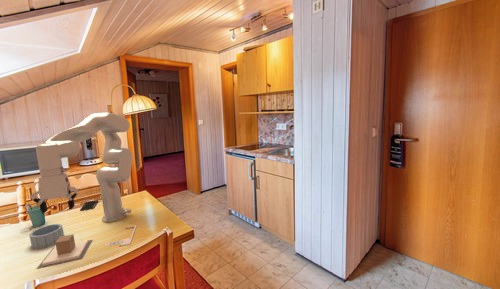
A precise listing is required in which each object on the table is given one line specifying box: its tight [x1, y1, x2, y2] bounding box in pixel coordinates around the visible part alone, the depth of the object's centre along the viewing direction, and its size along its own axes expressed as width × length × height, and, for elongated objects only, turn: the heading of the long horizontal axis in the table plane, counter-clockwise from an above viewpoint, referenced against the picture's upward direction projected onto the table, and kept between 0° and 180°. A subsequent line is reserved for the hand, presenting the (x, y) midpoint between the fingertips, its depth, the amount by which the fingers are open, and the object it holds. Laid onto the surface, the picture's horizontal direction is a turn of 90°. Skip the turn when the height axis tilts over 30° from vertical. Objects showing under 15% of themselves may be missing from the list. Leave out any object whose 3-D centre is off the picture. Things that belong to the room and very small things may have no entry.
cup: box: [22, 200, 47, 228], centre depth 130 cm, size 14×8×15 cm, turn 10°
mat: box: [36, 239, 94, 270], centre depth 103 cm, size 16×16×1 cm
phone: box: [79, 199, 99, 212], centre depth 157 cm, size 8×1×15 cm
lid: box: [42, 234, 89, 266], centre depth 103 cm, size 13×13×7 cm
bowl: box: [29, 223, 65, 250], centre depth 113 cm, size 12×12×6 cm
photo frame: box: [104, 225, 137, 247], centre depth 115 cm, size 15×1×18 cm
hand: (58, 210), depth 100 cm, fingers open, 9 cm apart
